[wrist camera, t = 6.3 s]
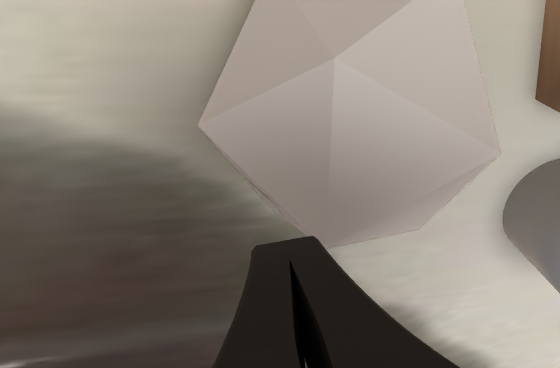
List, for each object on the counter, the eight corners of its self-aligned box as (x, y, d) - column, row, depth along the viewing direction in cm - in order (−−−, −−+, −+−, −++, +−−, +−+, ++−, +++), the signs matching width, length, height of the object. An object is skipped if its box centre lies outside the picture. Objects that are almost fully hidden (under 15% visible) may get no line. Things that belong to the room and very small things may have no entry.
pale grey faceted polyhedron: (212, -62, 17) (104, 175, 12) (482, -157, 13) (477, 143, 8) (305, 96, 23) (257, 296, 18) (510, 65, 19) (515, 311, 14)
